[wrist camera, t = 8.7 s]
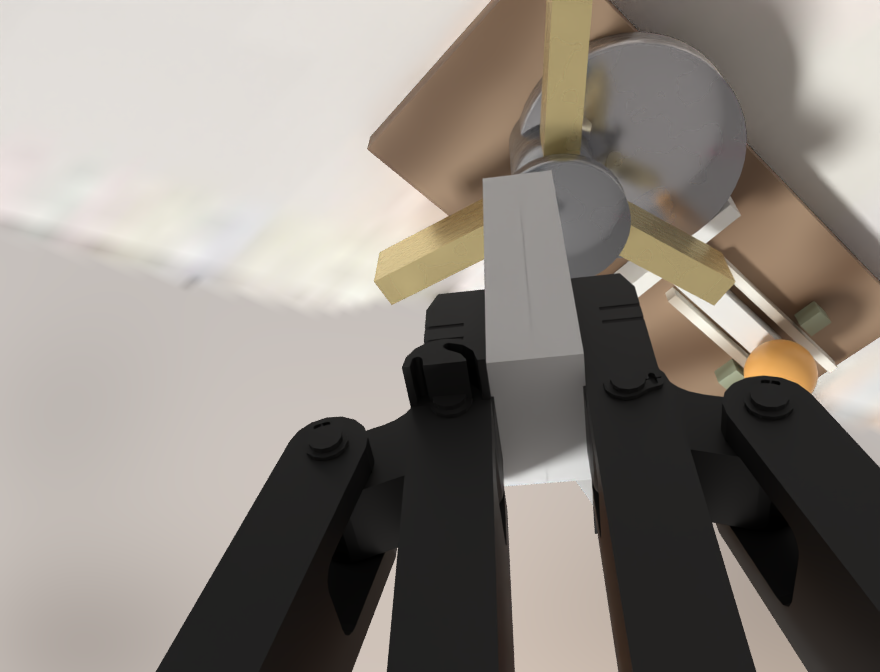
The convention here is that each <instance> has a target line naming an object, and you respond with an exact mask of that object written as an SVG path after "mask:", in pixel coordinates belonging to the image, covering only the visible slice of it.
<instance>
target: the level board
mask: <svg viewBox="0 0 880 672" xmlns="http://www.w3.org/2000/svg"><path fill="white" fill-rule="evenodd" d="M545 19H546V0H491V2H490V3H489V4H488V5H487V6H486V7H485V8H484V9H483V11H482V12H481V13H480V14H479V15H478V16H477V17H476V18H475V20H474V21H473V22H472V23H471V24H470V25H469V26H468V27H467V29H466V30H465V31H464V32H463V33H462V34H461V35H460V36H459V38H458V39H457V40H456V41H455V42H454V43H453V44H452V46H451V47H450V48H449V49H448V50H447V51H446V52H445V53H444V55H443V56H442V57H441V58H440V59H439V60H438V61H437V62H436V64H435V65H434V66H433V67H432V68H431V69H430V70H429V71H428V73H427V74H426V75H425V76H424V77H423V78H422V79H421V80H420V82H419V83H418V84H417V85H416V86H415V87H414V88H413V89H412V91H411V92H410V93H409V94H408V95H407V96H406V97H405V98H404V100H403V101H402V102H401V103H400V104H399V105H398V106H397V108H396V109H395V110H394V111H393V112H392V113H391V114H390V115H389V117H388V118H387V119H386V120H385V121H384V122H383V123H382V124H381V126H380V127H379V128H378V129H377V130H376V131H375V132H374V133H373V135H372V136H371V137H370V140H369V144H368V148H367V149H368V150H369V151H370V152H371V153H372V154H374V155H375V156H376V157H377V158H379V159H380V160H381V161H382V162H383V163H385V164H386V165H387V166H388V167H390V168H391V169H392V170H393V171H395V172H396V173H397V174H398V175H399V176H401V177H402V178H403V179H404V180H406V181H407V182H408V183H409V184H410V185H412V186H413V187H414V188H415V189H417V190H418V191H419V192H420V193H422V194H423V195H424V196H425V197H426V198H428V199H429V200H430V201H431V202H433V203H434V204H435V205H436V206H437V207H439V208H440V209H441V210H442V211H444V212H445V213H446V214H447V215H448V216H450V215H452V214H454V213H456V212H458V211H460V210H462V209H464V208H466V207H467V206H469V205H471V204H473V203H475V202H477V201H479V200H481V199H483V178H492V177H500V176H508V175H511V166H510V152H509V138H510V134H511V131H512V129H513V127H514V125H515V124H516V122H517V121H518V120H519V119H520V115H521V113H522V110H523V108H524V105H525V103H526V101H527V99H528V97H529V95H530V93H531V92H532V90H533V88H534V87H535V86H536V84H537V83H538V82H539V80H540V79H541V78H542V76H543V59H544V39H545ZM628 32H639V31H638V30H637V29H636V28H635V27H634V26H633V25H632V24H631V23H630V22H629V21H628V19H627V18H626V17H625V16H624V15H623V14H622V13H621V12H620V11H619V10H618V9H617V8H616V7H615V6H614V5H613V4H612V3H611V2H610V1H609V0H593V2H592V14H591V26H590V39H589V42H590V41H593V40H596V39H599V38H602V37H605V36H609V35H614V34H619V33H628ZM730 196H731V198H732V200H733V202H734V203H735V205H736V207H737V209H738V211H739V212H740V214H741V216H740V217H738V218H737V219H736V220H735V221H733V222H732V223H731V224H730V225H728V226H727V227H726V228H725V229H723V230H722V231H721V232H720V233H718V234H717V235H716V236H715V237H713V238H712V239H711V240H710V241H708V242H707V243H706V244H707V245H709V246H711V247H713V248H715V249H716V250H718V251H720V252H722V254H723V256H724V258H725V260H726V262H727V265H728V267H729V269H730V271H731V273H732V275H733V277H734V279H735V281H736V282H735V283H734V285H733V286H732V287H731V288H730V289H729V290H730V291H731V292H732V293H733V294H735V295H736V296H737V297H738V298H739V299H740V300H741V301H742V302H743V303H744V304H745V305H746V306H748V307H749V308H750V309H751V310H752V311H753V312H754V313H755V314H756V315H757V316H758V317H759V318H761V319H762V320H763V321H764V322H765V323H766V324H767V325H768V326H769V327H770V328H771V329H772V330H774V331H775V332H776V333H777V334H778V335H779V336H780V337H781V339H783V340H790V341H793V342H796V343H798V344H800V345H801V346H803V347H804V348H805V349H807V350H808V351H809V352H810V354H811V355H812V356H813V358H814V360H815V362H816V365H817V370H818V377H819V376H821V375H823V374H824V373H826V372H827V371H828V372H829V373H832V372H833V371H835V370H836V369H838V367H837V366H836V365H838V364H839V363H841V362H842V361H844V360H845V359H847V358H848V357H850V356H851V355H853V354H855V353H856V352H858V351H859V350H861V349H862V348H864V347H865V346H867V345H868V344H870V343H871V342H873V341H874V340H876V339H877V338H879V337H880V281H879V280H878V279H877V278H876V277H875V276H874V275H873V274H872V273H871V272H870V271H869V270H868V269H867V268H866V267H865V266H864V265H863V264H862V263H861V262H860V261H859V260H858V259H857V258H856V257H855V255H854V254H853V253H852V252H851V251H850V250H849V249H848V248H847V247H846V246H845V245H844V244H843V243H842V242H841V241H840V240H839V239H838V238H837V237H836V236H835V235H834V234H833V233H832V232H831V231H830V229H829V228H828V227H827V226H826V225H825V224H824V223H823V222H822V221H821V220H820V219H819V218H818V217H817V216H816V215H815V214H814V213H813V212H812V211H811V210H810V209H809V208H808V207H807V206H806V205H805V203H804V202H803V201H802V200H801V199H800V198H799V197H798V196H797V195H796V194H795V193H794V192H793V191H792V190H791V189H790V188H789V187H788V186H787V185H786V184H785V183H784V182H783V181H782V180H781V179H780V178H779V176H778V175H777V174H776V173H775V172H774V171H773V170H772V169H771V168H770V167H769V166H768V165H767V164H766V163H765V162H764V161H763V160H762V159H761V158H760V157H759V156H758V155H757V154H756V153H755V152H754V150H753V149H752V148H751V147H750V146H749V145H748V144H747V147H746V154H745V161H744V164H743V168H742V172H741V175H740V177H739V179H738V182H737V184H736V187H735V188H734V190H733V192H732V194H731V195H730ZM628 261H629V260H627V259H625V258H616V259H615V261H614V262H613V263H612V264H611V265H609V266H608V267H607V268H606V269H605V270H603V271H602V272H600V273H599V274H597V275H607V274H614V273H615V272H616V271H617V270H619V269H620V268H621V267H622V266H624V265H625V264H626V263H627V262H628ZM597 275H595V276H597ZM638 299H639V302H640V306H641V309H642V313H643V316H644V320H645V323H646V327H647V330H648V334H649V337H650V340H651V344H652V347H653V351H654V354H655V358H656V361H657V365H658V367H659V369H660V370H661V371H663V372H664V373H665V375H666V376H667V378H668V379H669V381H670V382H671V383H673V384H674V385H676V386H677V387H680V388H682V389H685V390H687V391H690V392H695V393H700V394H706V395H713V396H721V397H724V392H725V391H726V390H727V389H728V388H729V387H730V386H731V385H732V384H733V383H735V382H737V381H739V380H742V379H744V366H745V362H746V360H747V358H748V356H749V355H750V352H749V351H748V350H747V349H745V348H744V347H743V346H742V345H741V344H740V343H739V342H738V341H736V340H735V339H734V338H733V337H732V336H731V335H730V334H729V333H728V332H726V331H725V330H724V329H723V328H722V327H721V326H720V325H719V324H717V323H716V322H715V321H714V320H713V319H712V318H711V317H710V316H708V315H707V314H706V313H705V312H704V311H703V310H702V309H701V308H700V307H698V306H697V305H696V304H695V303H694V302H693V301H692V300H691V299H689V298H688V297H687V296H686V295H685V294H684V293H683V292H682V291H680V290H679V289H678V288H677V287H676V286H675V285H674V284H672V283H670V282H668V281H666V280H664V279H663V278H662V279H661V280H659V281H658V282H657V283H656V284H654V285H653V286H652V287H651V288H649V289H648V290H647V291H646V292H644V293H643V294H642V295H641V296H639V297H638Z"/></svg>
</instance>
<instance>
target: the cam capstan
mask: <svg viewBox="0 0 880 672" xmlns="http://www.w3.org/2000/svg"><path fill="white" fill-rule="evenodd" d="M592 2H593V0H546V19H545V39H544V59H543V76H542V78H541V79H540V80H539V82H538V83H537V84H536V86H535V87H534V88H533V90H532V92H531V93H530V95H529V97H528V99H527V101H526V103H525V105H524V108H523V110H522V113H521V115H520V119H519V120H518V121H517V122H516V124H515V125H514V127H513V129H512V131H511V134H510V138H509V152H510V166H511V175H516V174H524V173H532V172H540V171H549V170H552V176H553V182H554V187H555V193H556V199H557V204H558V210H559V216H560V221H561V227H562V233H563V238H564V244H565V250H566V255H567V261H568V267H569V273H570V278H579V277H588V276H595V275H597V274H599V273H600V272H602V271H603V270H605V269H606V268H607V267H608V266H609V265H611V264H612V263H613V262H614V261H615V259H616V258H625V259H627V260H629V261H630V262H632V263H634V264H636V265H638V266H640V267H642V268H644V269H646V270H647V271H649V272H651V273H653V274H655V275H657V276H659V277H661V278H663V279H664V280H666V281H668V282H670V283H672V284H674V285H676V286H678V287H680V288H681V289H683V290H685V291H687V292H689V293H691V294H693V295H695V296H697V297H699V298H700V299H702V300H704V301H706V302H708V303H710V304H712V305H715V304H716V303H717V302H718V301H719V300H720V299H721V298H722V297H723V296H724V294H725V293H726V292H727V291H728V290H729V289H730V288H731V287H732V286H733V285H734V283H735V282H736V281H735V279H734V277H733V275H732V273H731V271H730V269H729V267H728V265H727V262H726V260H725V258H724V256H723V254H722V252H720V251H718V250H716V249H715V248H713V247H711V246H709V245H707V244H705V243H704V242H702V241H700V240H698V239H696V238H695V237H693V236H692V235H693V234H695V233H696V232H698V231H699V230H700V229H701V228H703V227H704V226H705V225H706V224H707V223H708V222H710V221H711V219H712V218H713V217H714V216H715V215H716V214H717V213H718V212H719V211H720V210H721V208H722V207H723V206H724V204H725V203H726V202H727V200H728V199H729V197H730V195H731V194H732V192H733V190H734V188H735V187H736V184H737V182H738V179H739V177H740V175H741V172H742V168H743V164H744V161H745V154H746V147H747V132H746V126H745V119H744V116H743V112H742V109H741V106H740V104H739V102H738V100H737V98H736V96H735V94H734V92H733V91H732V89H731V88H730V86H729V85H728V84H727V82H726V81H725V79H724V78H723V77H722V75H721V74H720V73H719V71H718V70H717V68H716V67H715V66H714V65H713V64H712V63H711V62H710V61H709V60H708V59H707V58H706V57H705V56H704V55H703V54H702V53H700V52H699V51H698V50H696V49H695V48H694V47H692V46H690V45H688V44H686V43H684V42H682V41H680V40H678V39H675V38H672V37H669V36H666V35H661V34H656V33H648V32H628V33H619V34H614V35H609V36H605V37H602V38H599V39H596V40H593V41H590V42H589V39H590V26H591V14H592ZM483 259H484V223H483V199H481V200H479V201H477V202H475V203H473V204H471V205H469V206H467V207H466V208H464V209H462V210H460V211H458V212H456V213H454V214H452V215H450V216H448V217H446V218H445V219H443V220H441V221H439V222H437V223H435V224H433V225H431V226H429V227H427V228H425V229H424V230H422V231H420V232H418V233H416V234H414V235H412V236H410V237H408V238H406V239H404V240H403V241H401V242H399V243H397V244H395V245H393V246H391V247H389V248H387V249H385V250H383V251H382V252H380V253H379V258H378V264H377V269H376V274H375V279H374V282H375V283H376V285H377V286H378V287H379V289H380V290H381V291H382V293H383V294H384V295H385V297H386V298H387V299H388V301H389V302H390V303H391V305H393V304H395V303H397V302H399V301H401V300H403V299H405V298H407V297H409V296H411V295H413V294H415V293H417V292H419V291H421V290H423V289H425V288H427V287H429V286H431V285H433V284H435V283H437V282H439V281H441V280H443V279H445V278H447V277H449V276H451V275H453V274H455V273H457V272H459V271H461V270H463V269H465V268H467V267H469V266H471V265H473V264H475V263H477V262H479V261H481V260H483Z"/></svg>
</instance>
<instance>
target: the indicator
mask: <svg viewBox="0 0 880 672" xmlns="http://www.w3.org/2000/svg"><path fill="white" fill-rule="evenodd" d="M740 216H741V214H740V212H739V211H738V209H737V207H736V205H735V203H734V202H733V200H732V198H731V196H730V197H729V199H728V200H727V202H726V203H725V204H724V206H723V207H722V208H721V210H720V211H719V212H718V213H717V214H716V215H715V216H714V217H713V218H712V219H711V221H710V222H708V223H707V224H706V225H705V226H704V227H703V228H701V229H700V230H699V231H698V232H696V233H695V234H693V235H692V236H693V237H695V238H696V239H698V240H700V241H702V242H704V243H705V244H706V243H707V242H708V241H710V240H711V239H712V238H713V237H715V236H716V235H717V234H718V233H720V232H721V231H722V230H723V229H725V228H726V227H727V226H728V225H730V224H731V223H732V222H733V221H735V220H736V219H737V218H738V217H740ZM616 273H620V274H621V275H622V276H624V277H625V278H626V279H627V280H628V281H629V282H630V283H631V284H633V285H634V286H635V289H636V292H637V296H638V297H639V296H641V295H642V294H643V293H644V292H646V291H647V290H648V289H649V288H651V287H652V286H653V285H654V284H656V283H657V282H658V281H659V280H661V279H662V278H661V277H659V276H657V275H655V274H653V273H651V272H649V271H647V270H646V269H644V268H642V267H640V266H638V265H636V264H634V263H632V262H630V261H628V262H627V263H626V264H625V265H624V266H622V267H621V268H620V269H619V270H617V271H616V272H615V273H614V274H616ZM675 286H676V285H675ZM676 287H677V288H678V289H679V290H680V291H682V292H683V293H684V294H685V295H686V296H687V297H688V298H689V299H691V300H692V301H693V302H694V303H695V304H696V305H697V306H698V307H700V308H701V309H702V310H703V311H704V312H705V313H706V314H707V315H708V316H710V317H711V318H712V319H713V320H714V321H715V322H716V323H717V324H719V325H720V326H721V327H722V328H723V329H724V330H725V331H726V332H728V333H729V334H730V335H731V336H732V337H733V338H734V339H735V340H736V341H738V342H739V343H740V344H741V345H742V346H743V347H744V348H745V349H747V350H748V351H749V352H750V355H749V356H748V358H747V360H746V362H745V366H744V378H746V377H754V376H763V375H765V376H773V377H781V378H784V379H787V380H790V381H792V382H795V383H798V384H799V385H800V386H802V387H803V388H804V389H806V390H807V391H808V392H810V393H811V394H812V392H813V391H814V389H815V387H816V384H817V379H818V370H817V365H816V362H815V360H814V358H813V356H812V355H811V354H810V352H809V351H808V350H807V349H805V348H804V347H803V346H801V345H800V344H798V343H796V342H793V341H790V340H783V339H781V337H780V336H779V335H778V334H777V333H776V332H775V331H774V330H772V329H771V328H770V327H769V326H768V325H767V324H766V323H765V322H764V321H763V320H762V319H761V318H759V317H758V316H757V315H756V314H755V313H754V312H753V311H752V310H751V309H750V308H749V307H748V306H746V305H745V304H744V303H743V302H742V301H741V300H740V299H739V298H738V297H737V296H736V295H735V294H733V293H732V292H731V291H730V290H728V291H727V292H726V293H725V294H724V296H723V297H722V298H721V299H720V300H719V301H718V302H717V303H716V304H715V305H712V304H710V303H708V302H706V301H704V300H702V299H700V298H699V297H697V296H695V295H693V294H691V293H689V292H687V291H685V290H683V289H681V288H680V287H678V286H676Z"/></svg>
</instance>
